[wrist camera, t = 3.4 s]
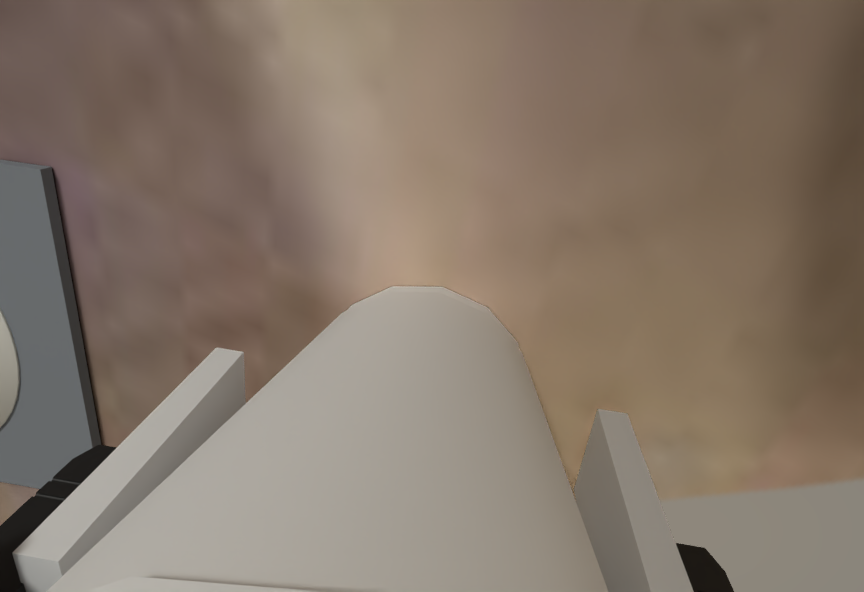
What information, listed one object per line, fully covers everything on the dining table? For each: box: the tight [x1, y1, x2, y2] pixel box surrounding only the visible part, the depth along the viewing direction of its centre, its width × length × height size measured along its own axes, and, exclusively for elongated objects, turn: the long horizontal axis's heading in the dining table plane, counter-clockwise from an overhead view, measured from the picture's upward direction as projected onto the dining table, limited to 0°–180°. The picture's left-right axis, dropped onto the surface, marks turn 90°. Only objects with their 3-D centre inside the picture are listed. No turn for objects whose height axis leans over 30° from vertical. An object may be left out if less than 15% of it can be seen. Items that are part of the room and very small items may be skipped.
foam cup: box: [46, 286, 608, 592], centre depth 10 cm, size 10×9×13 cm
